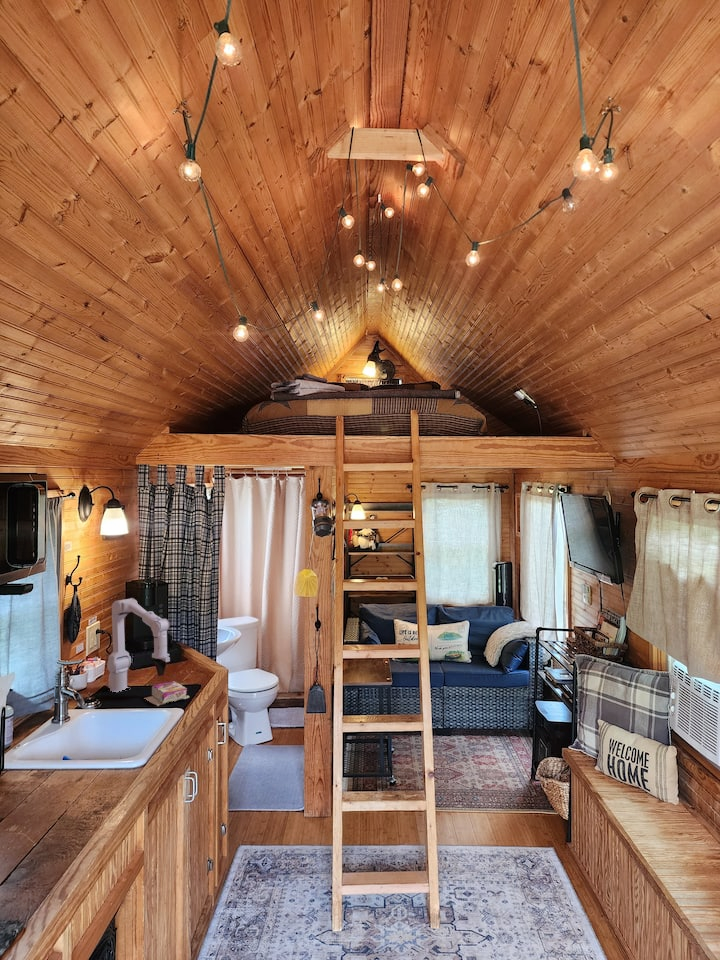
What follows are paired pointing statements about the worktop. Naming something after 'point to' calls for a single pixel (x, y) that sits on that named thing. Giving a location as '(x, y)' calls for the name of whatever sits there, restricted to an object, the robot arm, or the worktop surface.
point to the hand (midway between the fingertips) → (160, 675)
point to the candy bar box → (169, 692)
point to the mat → (155, 700)
